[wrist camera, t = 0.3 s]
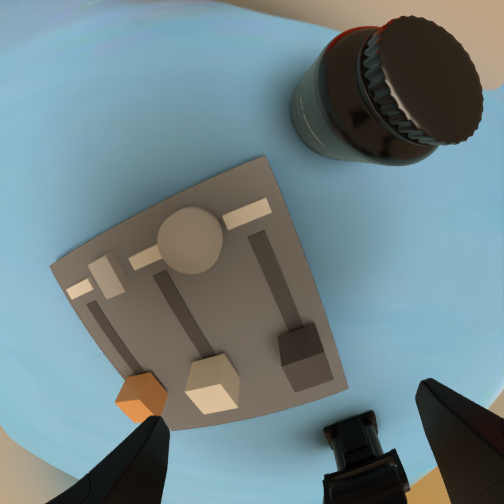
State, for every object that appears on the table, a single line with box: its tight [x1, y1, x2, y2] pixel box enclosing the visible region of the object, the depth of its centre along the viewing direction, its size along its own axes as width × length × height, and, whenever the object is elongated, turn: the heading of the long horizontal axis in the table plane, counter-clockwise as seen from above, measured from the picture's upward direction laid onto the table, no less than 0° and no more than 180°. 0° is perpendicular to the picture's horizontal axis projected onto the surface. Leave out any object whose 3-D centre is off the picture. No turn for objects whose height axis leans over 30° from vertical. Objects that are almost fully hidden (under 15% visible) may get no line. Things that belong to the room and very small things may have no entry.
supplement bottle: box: [291, 15, 484, 166], centre depth 11 cm, size 7×7×12 cm
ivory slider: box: [185, 353, 240, 414], centre depth 20 cm, size 3×3×4 cm
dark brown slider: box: [278, 323, 334, 393], centre depth 19 cm, size 3×3×4 cm
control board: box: [50, 155, 349, 431], centre depth 21 cm, size 22×20×4 cm
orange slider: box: [115, 372, 168, 423], centre depth 21 cm, size 3×3×4 cm
